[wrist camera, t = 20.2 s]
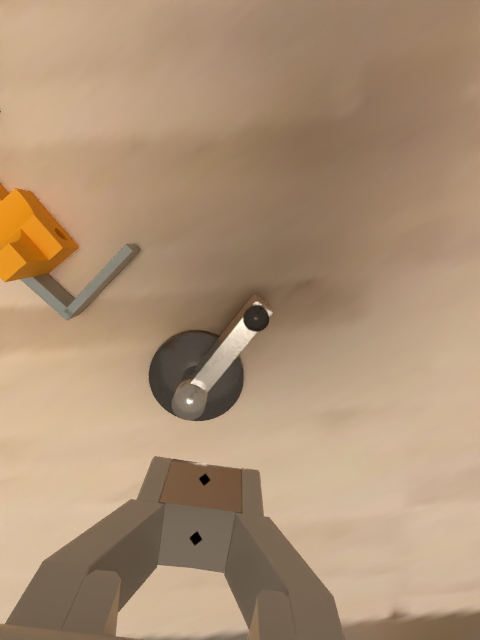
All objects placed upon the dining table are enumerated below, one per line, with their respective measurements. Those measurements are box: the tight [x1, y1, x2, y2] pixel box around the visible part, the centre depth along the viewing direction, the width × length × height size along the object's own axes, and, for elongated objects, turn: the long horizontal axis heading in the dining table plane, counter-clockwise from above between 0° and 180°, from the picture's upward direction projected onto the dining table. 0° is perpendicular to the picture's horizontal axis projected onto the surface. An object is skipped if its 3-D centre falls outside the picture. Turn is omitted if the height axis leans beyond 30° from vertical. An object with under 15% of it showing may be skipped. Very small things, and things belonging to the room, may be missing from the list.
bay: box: [0, 111, 140, 320], centre depth 30 cm, size 10×18×2 cm, turn 44°
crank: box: [172, 293, 272, 420], centre depth 31 cm, size 12×3×5 cm, turn 142°
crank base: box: [149, 331, 243, 421], centre depth 35 cm, size 10×10×1 cm
